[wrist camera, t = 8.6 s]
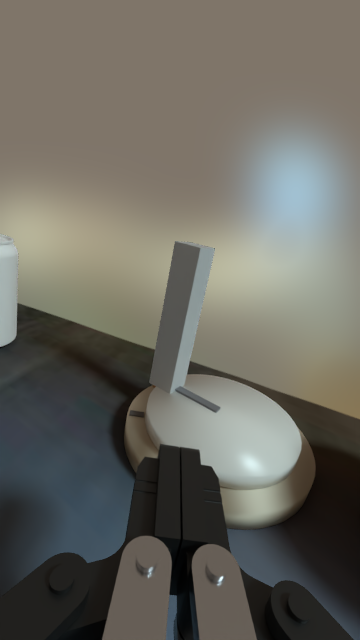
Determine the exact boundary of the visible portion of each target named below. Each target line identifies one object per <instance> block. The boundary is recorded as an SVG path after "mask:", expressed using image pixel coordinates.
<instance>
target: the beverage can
mask: <svg viewBox="0 0 360 640" xmlns="http://www.w3.org/2000/svg"><path fill="white" fill-rule="evenodd" d="M17 287H18V251H17V249H16V247H15V246H14V244H13V238H11V237H9V236H6V235H2V234H0V347H2V346H5V345H7V344H9V343H10V342H12V341H13V340H14V339H15V337H16V329H17Z"/></svg>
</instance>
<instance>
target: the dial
mask: <svg viewBox="0 0 360 640" xmlns="http://www.w3.org/2000/svg"><path fill="white" fill-rule="evenodd" d="M214 251H215V248H211V247H207V246H203V245H199V244H195V243H191V242H178V241H175V245H174V251H173V256H172V261H171V267H170V272H169V278H168V283H167V289H166V294H165V299H164V305H163V311H162V316H161V321H160V327H159V332H158V338H157V343H156V349H155V354H154V359H153V365H152V370H151V376H150V381H149V383H151V384H153V385H155V386H156V387H155V388H154V389H153V390H152V392H151V393H150V396H149V398H148V403H147V408H146V414H145V424H146V429H147V432H148V434H149V436H150V438H151V440H152V442H153V443H154V445H155V446H156V447H157V449H158V450H159V448H160V444H165V445H171V446H178V447H179V448H180V447H185V448H192V449H199V451H200V459H201V465H207V466H212V468H213V470H214V471H215V473H216V475H217V476H218V478H219V484H220V486H222V487H225V488H232V489H241V490H254V489H262V488H267V487H271V486H273V485H276V484H278V483H280V482H282V481H283V480H285V479H286V478H287V477H288V476H289V475H290V474H291V473H292V471H293V469H294V468H295V465H296V463H297V460H298V457H299V455H300V452H301V445H302V442H301V436H300V433H299V430H298V428H297V426H296V424H295V423H294V421H293V420H292V419H291V417H290V416H289V415H288V414H287V413H286V411H285V410H283V409H282V408H281V407H280V406H279V405H278V404H277V403H275V402H274V401H273V400H271V399H270V398H269V397H267V396H266V395H264V394H262V393H260V392H259V391H257V390H255V389H253V388H251V387H249V386H246V385H244V384H241V383H239V382H236V381H233V380H230V379H226V378H222V377H217V376H211V375H200V374H191V375H187V371H188V367H189V362H190V357H191V353H192V349H193V344H194V340H195V335H196V331H197V326H198V322H199V317H200V313H201V309H202V304H203V300H204V296H205V290H206V287H207V282H208V278H209V273H210V269H211V264H212V260H213V256H214Z"/></svg>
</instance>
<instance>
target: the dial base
mask: <svg viewBox="0 0 360 640" xmlns="http://www.w3.org/2000/svg"><path fill="white" fill-rule="evenodd" d="M155 387H156V386H155V385H152V386H150V387H148V388H147V389H145V390H144V391H142V392H141V393H140V394H138V396H137V397H136V398H135V399H134V400H133V402H132V403H131V405H130V407H129V410H128V413H127V419H126V425H125V431H124V446H125V450H126V454H127V457H128V459H129V462H130V464H131V466H132V468H133V469H134V471H135V473H137V467H138V465H139V464H140V463H141V461H142V460H143V458H144V457H151V458H157V457H158V452H159V450H158V449H157V447H156V446H155V445H154V443H153V442H152V440H151V438H150V436H149V434H148V432H147V429H146V424H145V414H146V408H147V403H148V398H149V396H150V393H151V392H152V390H153V389H154V388H155ZM297 428H298V427H297ZM298 430H299V428H298ZM299 433H300V436H301V442H302V445H301V452H300V455H299V457H298V460H297V463H296V465H295V468H294V469H293V471H292V473H291V474H290V475H289V476H288V477H287V478H286V479H285V480H283V481H282V482H280V483H278V484H276V485H273V486H271V487H267V488H262V489H254V490H241V489H232V488H225V487H222V486H220V494H221V497H222V505H223V510H224V516H225V522H226V528H229V529H241V530H250V529H262V528H266V527H271V526H274V525H277V524H279V523H282V522H284V521H286V520H287V519H289V518H290V517H292V516H293V515H294V514H295V513H296V512H297V511H298V510H299V509H300V508H301V507H302V505H303V504H304V502H305V500H306V498H307V496H308V493H309V491H310V489H311V486H312V484H313V481H314V478H315V469H316V466H315V459H314V455H313V452H312V449H311V447H310V445H309V443H308V441H307V440H306V438H305V436H304V435H303V433H302V432H301V431H300V430H299Z"/></svg>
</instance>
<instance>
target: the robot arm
mask: <svg viewBox="0 0 360 640" xmlns="http://www.w3.org/2000/svg"><path fill="white" fill-rule="evenodd" d="M169 594H170V595H177V613H176V617H175V620H174V629H173V631H174V640H353V638H352V637H351V636H350V635H349V634H348V633H347V632H346V631H345V630H344V629H343V628H342V627H341V626H340V624H339V623H338V622H337V621H336V620H335V619H334V618H333V617H332V616H331V615H330V614H329V613H328V611H327V610H326V609H325V608H324V607H323V606H322V605H321V604H320V603H319V602H318V601H317V600H316V599H315V597H314V596H313V595H312V594H311V593H310V592H309V591H308V590H307V589H305V588H304V587H303V586H301V585H300V584H298V583H295V582H293V581H287V580H285V581H281V582H278V583H277V584H276V585H275V586H274V588H273V587H271V586H269V585H267V584H265V583H262V582H260V581H258V580H256V579H254V578H253V577H251V576H249V575H248V574H247V573H245V572H244V571H243V570H242V569H241V568H240V567H239V565H238V563H237V561H236V560H235V558H234V557H233V555H232V554H231V551H230V547H229V542H228V535H227V529H226V522H225V516H224V510H223V505H222V497H221V494H220V484H219V478H218V476H217V475H216V473H215V471H214V470H213V468H212V466H207V465H201V459H200V451H199V449H192V448H185V447H180V448H179V447H178V446H171V445H165V444H160V448H159V452H158V457H157V458H151V457H144V458H143V460H142V461H141V463H140V464H139V465H138V467H137V473H136V478H135V483H134V489H133V494H132V500H131V506H130V513H129V519H128V525H127V531H126V538H125V542H124V543H123V545H122V547H121V548H120V549H119V550H118V551H117V552H116V553H115V554H113V555H112V556H110V557H108V558H106V559H103V560H99V561H95V562H91V563H87V562H86V561H85V560H84V559H83V558H82V557H81V556H79V555H77V554H75V553H60V554H57V555H55V556H53V557H51V558H49V559H48V560H47V561H45V562H44V563H43V564H42V565H40V566H39V567H38V568H37V569H35V570H34V571H33V572H32V573H30V574H29V575H28V576H27V577H25V578H24V579H23V580H22V581H20V582H19V583H18V584H17V585H16V586H14V587H13V588H12V589H11V590H9V591H8V592H7V593H6V594H4V595H3V596H2V597H1V598H0V640H165V639H166V627H167V615H168V604H169Z"/></svg>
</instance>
